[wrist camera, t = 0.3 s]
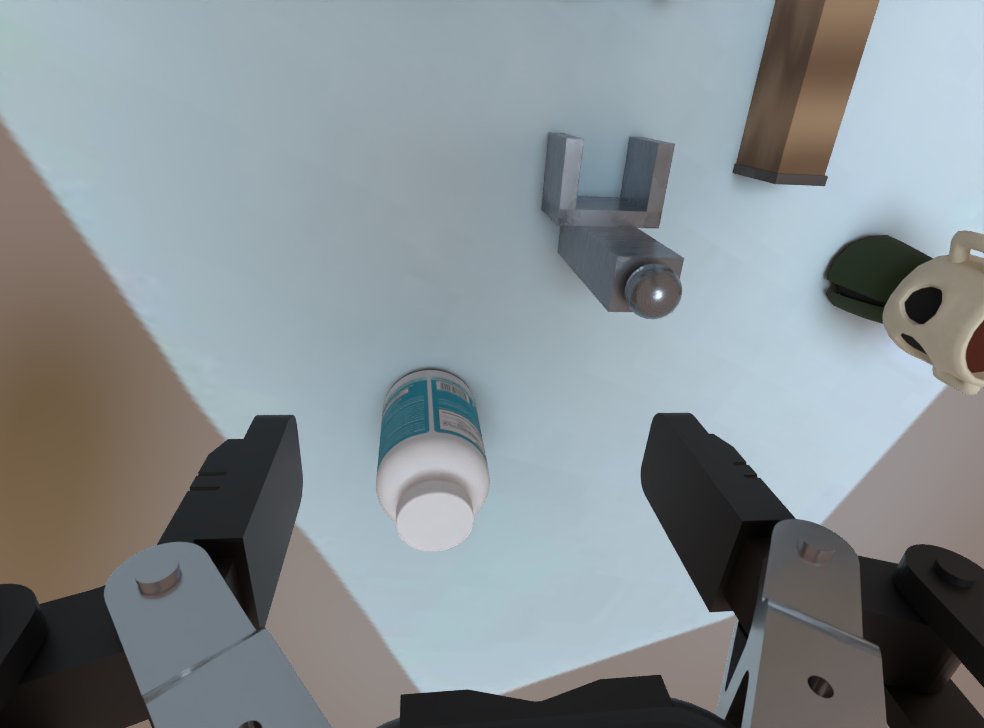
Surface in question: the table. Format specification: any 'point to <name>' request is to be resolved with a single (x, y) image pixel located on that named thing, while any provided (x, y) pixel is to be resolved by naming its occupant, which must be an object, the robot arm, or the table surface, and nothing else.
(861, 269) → the character mug
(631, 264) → the ball knob clevis bracket
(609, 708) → the robot arm
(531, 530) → the table surface
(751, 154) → the walnut rail
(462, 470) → the pill bottle
